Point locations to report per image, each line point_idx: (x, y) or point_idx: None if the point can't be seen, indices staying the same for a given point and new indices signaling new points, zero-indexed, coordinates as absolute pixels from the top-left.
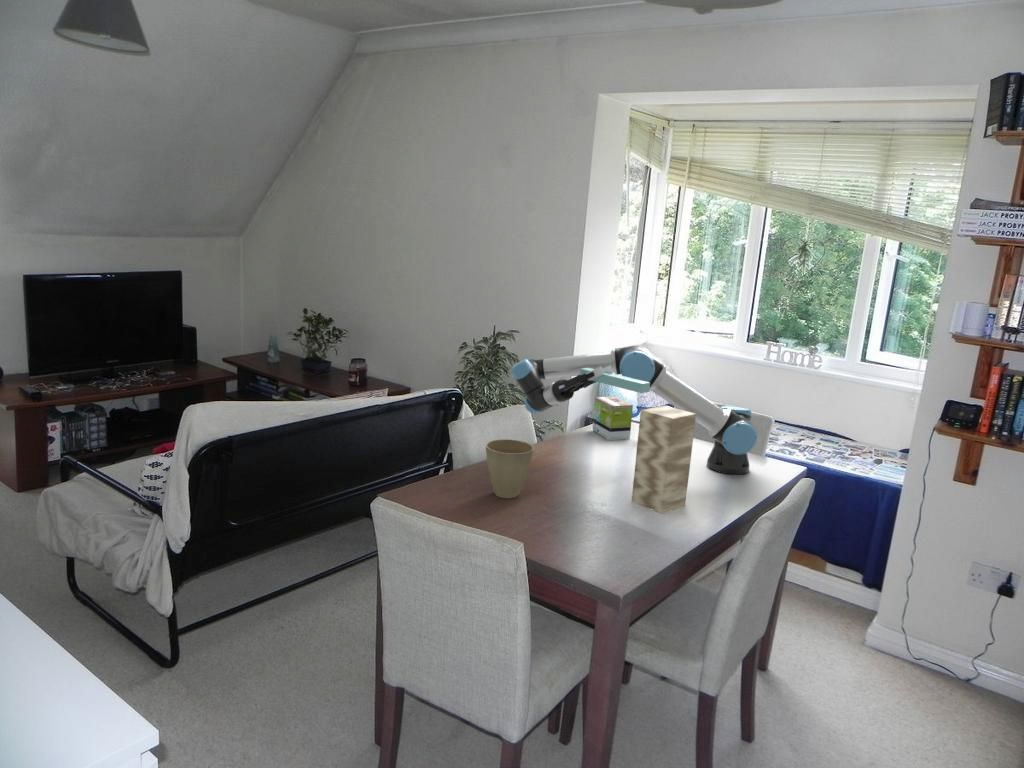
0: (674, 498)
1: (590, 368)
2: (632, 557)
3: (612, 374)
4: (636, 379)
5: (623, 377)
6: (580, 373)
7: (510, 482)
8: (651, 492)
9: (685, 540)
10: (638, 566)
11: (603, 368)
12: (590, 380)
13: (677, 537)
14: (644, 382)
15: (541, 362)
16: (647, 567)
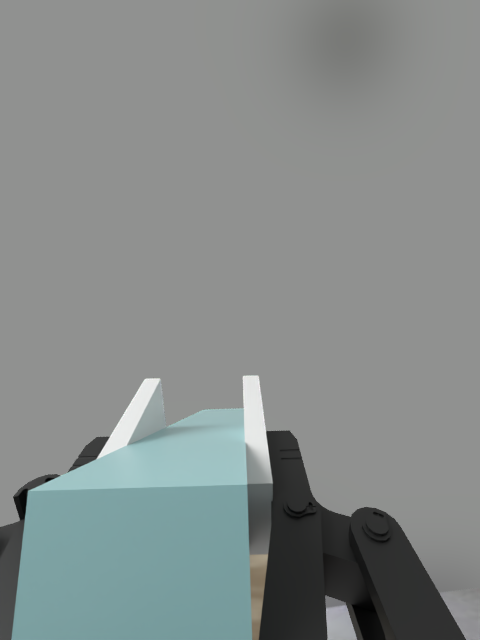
0: None
1: (89, 471)
2: (473, 624)
3: (195, 423)
4: (198, 413)
5: (212, 416)
6: (249, 583)
7: None
8: None
9: (339, 620)
10: (473, 606)
11: (144, 412)
12: (251, 546)
13: (345, 632)
14: (219, 409)
15: None
16: (458, 600)
